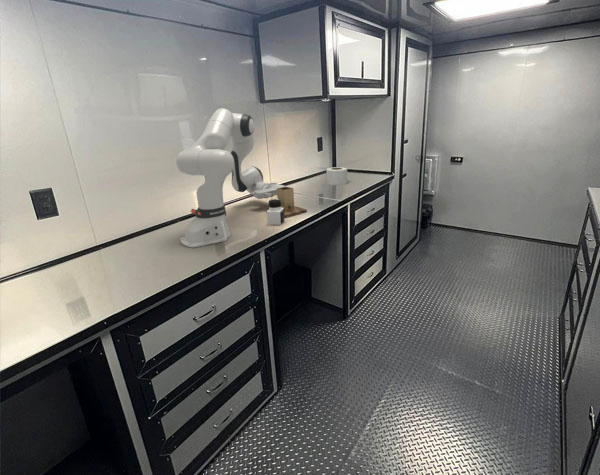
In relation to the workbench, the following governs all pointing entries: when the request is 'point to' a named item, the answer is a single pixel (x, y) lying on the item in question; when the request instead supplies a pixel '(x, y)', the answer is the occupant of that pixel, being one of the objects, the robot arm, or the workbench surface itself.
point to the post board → (294, 212)
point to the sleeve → (286, 198)
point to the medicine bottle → (275, 213)
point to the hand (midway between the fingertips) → (278, 194)
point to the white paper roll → (336, 175)
